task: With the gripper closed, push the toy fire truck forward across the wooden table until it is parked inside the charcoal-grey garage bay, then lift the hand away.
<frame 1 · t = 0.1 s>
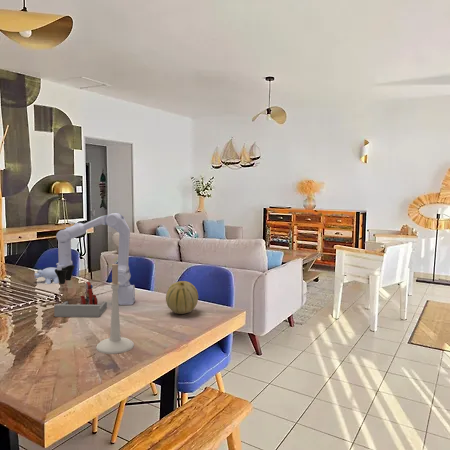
hand: (65, 282, 199), 10 cm above the table, tool pointing down, fingers open, 7 cm apart
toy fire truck: (89, 305, 196), on the table
garage bay: (81, 312, 184), on the table
cantaloupe: (181, 313, 186), on the table
hippopotamus toy: (48, 282, 241), on the table
candlestick: (115, 347, 145), on the table
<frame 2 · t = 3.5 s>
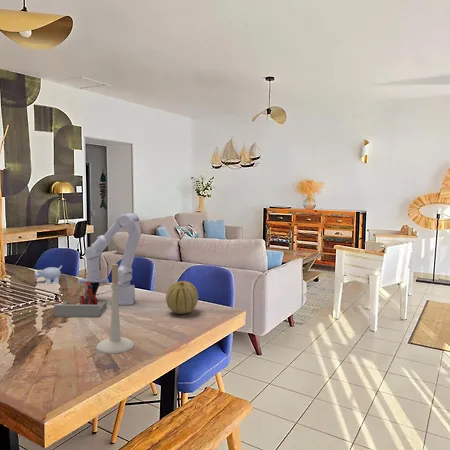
hand: (93, 297, 203), 1 cm above the table, tool pointing down, fingers closed
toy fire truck: (88, 305, 196), on the table
everything else where it was.
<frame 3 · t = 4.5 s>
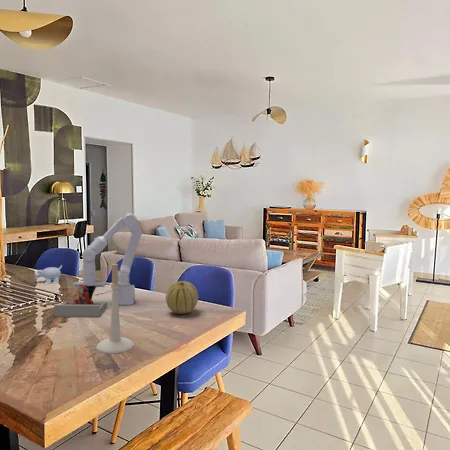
hand: (89, 301, 196), 1 cm above the table, tool pointing down, fingers closed
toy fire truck: (83, 309, 189), on the table, touching gripper
everything else where it was.
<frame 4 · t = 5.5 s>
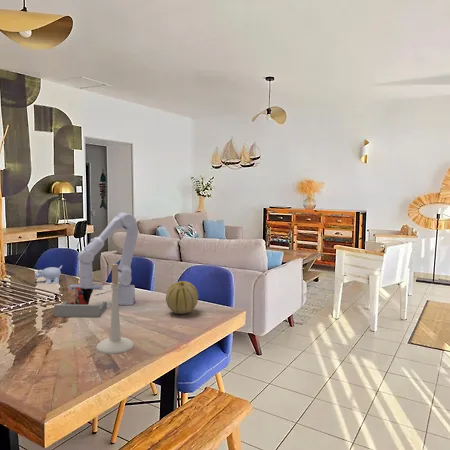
hand: (86, 304, 191), 1 cm above the table, tool pointing down, fingers closed
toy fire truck: (79, 312, 184), on the table, touching garage bay, gripper
everything else where it was.
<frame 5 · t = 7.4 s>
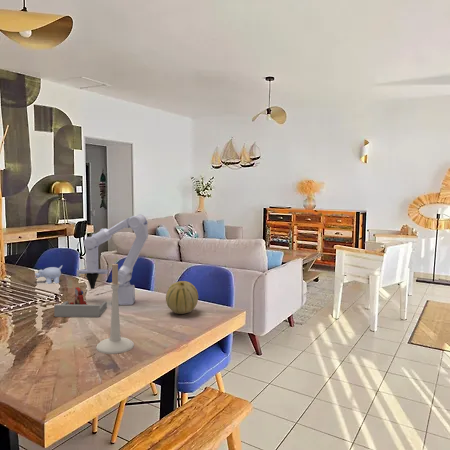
hand: (92, 288, 201), 7 cm above the table, tool pointing down, fingers closed
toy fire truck: (79, 312, 184), on the table
everything else where it was.
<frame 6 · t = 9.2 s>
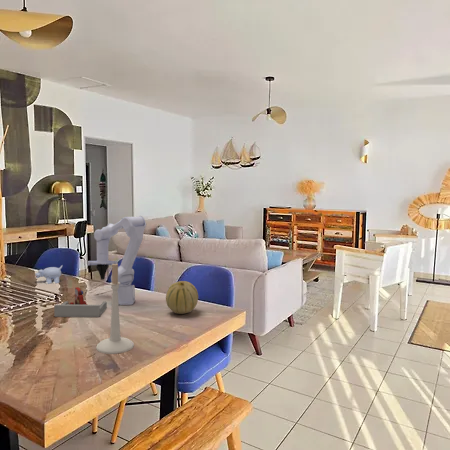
hand: (102, 279, 209), 9 cm above the table, tool pointing down, fingers closed
nothing on the table moved.
at the end: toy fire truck inside the target area (1.3 cm from its centre), on the table; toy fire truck tilted 0° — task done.
